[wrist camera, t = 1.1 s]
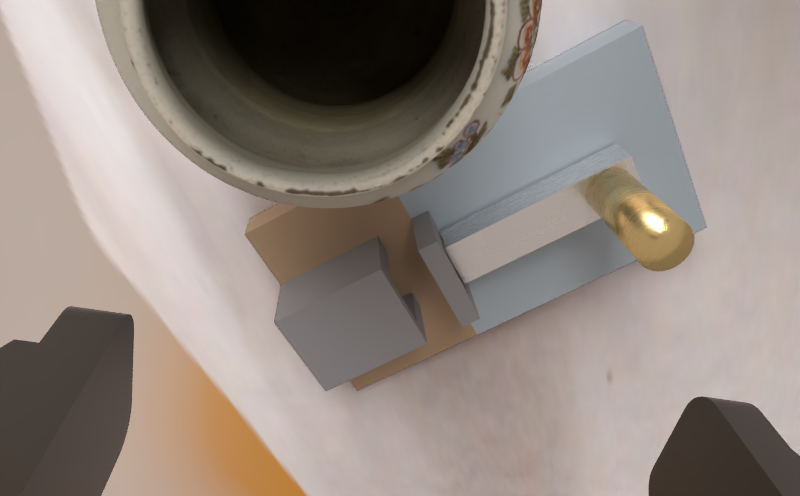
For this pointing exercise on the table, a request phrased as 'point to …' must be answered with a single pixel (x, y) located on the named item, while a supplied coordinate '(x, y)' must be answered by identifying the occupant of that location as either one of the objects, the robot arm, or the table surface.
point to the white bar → (572, 218)
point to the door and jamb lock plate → (460, 198)
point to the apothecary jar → (322, 87)
